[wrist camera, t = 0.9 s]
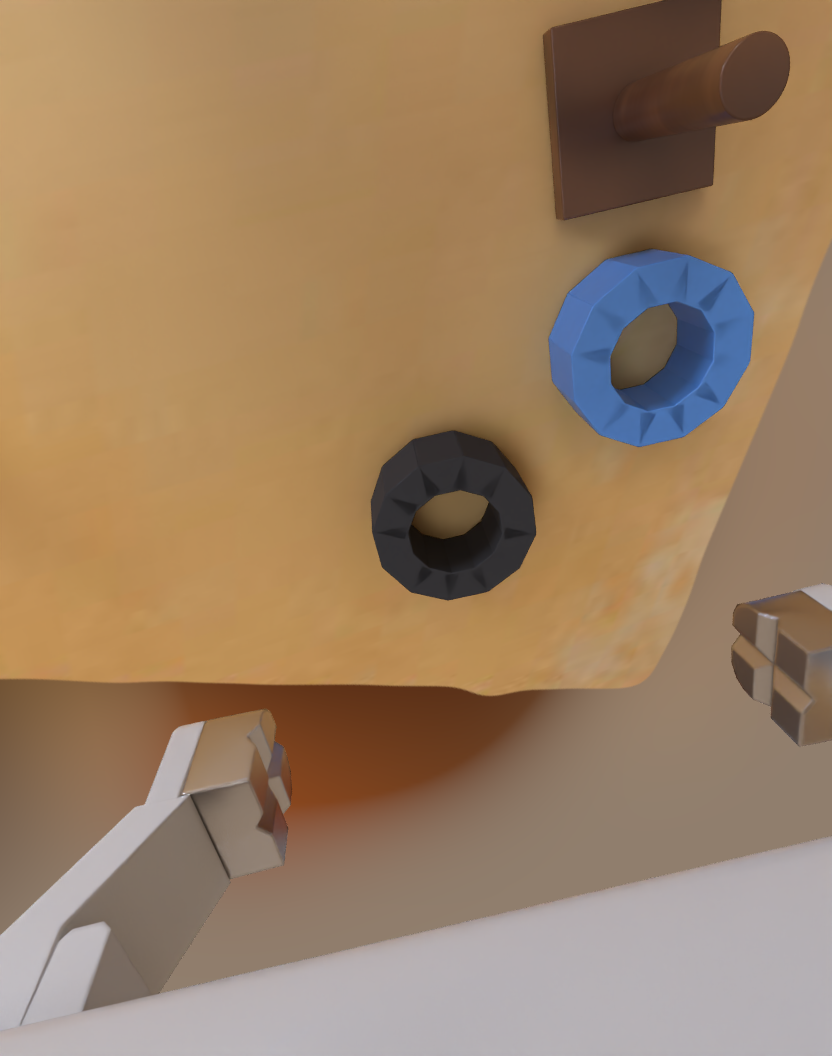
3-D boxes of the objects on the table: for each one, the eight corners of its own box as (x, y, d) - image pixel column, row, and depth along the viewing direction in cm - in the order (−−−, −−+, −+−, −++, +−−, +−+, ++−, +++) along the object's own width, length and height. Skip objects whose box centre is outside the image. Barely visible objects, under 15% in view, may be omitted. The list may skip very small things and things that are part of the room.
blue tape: (542, 273, 37) (566, 283, 33) (715, 233, 37) (761, 238, 33) (556, 435, 43) (578, 461, 39) (707, 401, 43) (745, 423, 39)
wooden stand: (542, 34, 31) (640, -50, 21) (707, -6, 31) (894, -113, 20) (555, 219, 36) (642, 230, 25) (700, 185, 36) (850, 181, 25)
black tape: (357, 452, 42) (357, 479, 38) (509, 417, 42) (526, 441, 38) (391, 576, 48) (394, 612, 44) (525, 546, 48) (542, 580, 43)
